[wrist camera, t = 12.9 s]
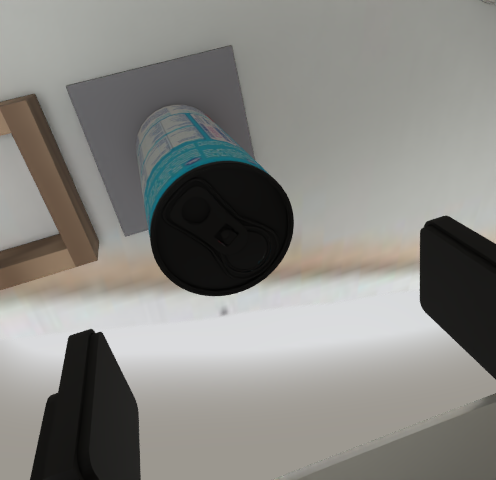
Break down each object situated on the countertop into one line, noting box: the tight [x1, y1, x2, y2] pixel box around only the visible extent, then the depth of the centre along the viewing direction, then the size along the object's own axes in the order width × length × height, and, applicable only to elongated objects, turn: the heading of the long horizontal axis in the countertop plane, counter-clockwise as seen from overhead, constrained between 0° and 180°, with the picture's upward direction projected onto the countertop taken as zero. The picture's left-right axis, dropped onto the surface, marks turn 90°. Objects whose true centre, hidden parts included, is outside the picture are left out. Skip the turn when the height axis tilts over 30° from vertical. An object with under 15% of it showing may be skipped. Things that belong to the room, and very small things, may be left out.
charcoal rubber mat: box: [66, 46, 255, 237], centre depth 30 cm, size 11×11×1 cm
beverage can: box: [136, 105, 294, 296], centre depth 23 cm, size 6×6×15 cm
